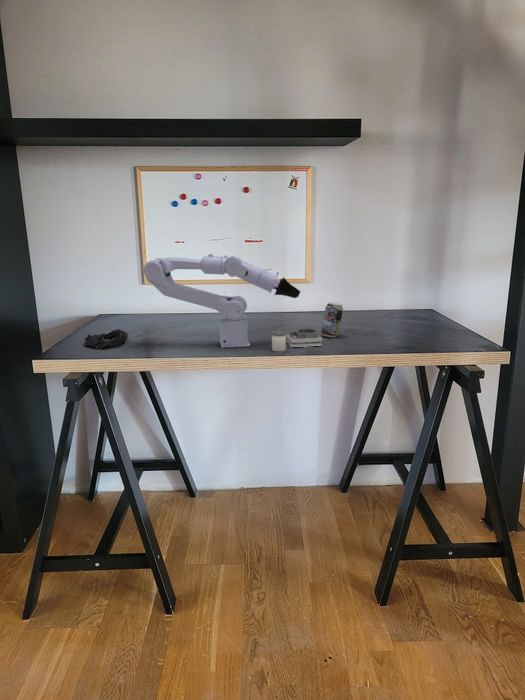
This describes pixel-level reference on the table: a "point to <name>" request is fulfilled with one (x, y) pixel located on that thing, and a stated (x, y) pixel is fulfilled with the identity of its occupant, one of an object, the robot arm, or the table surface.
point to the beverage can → (332, 319)
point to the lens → (278, 340)
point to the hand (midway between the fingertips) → (298, 294)
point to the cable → (115, 334)
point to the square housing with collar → (304, 338)
